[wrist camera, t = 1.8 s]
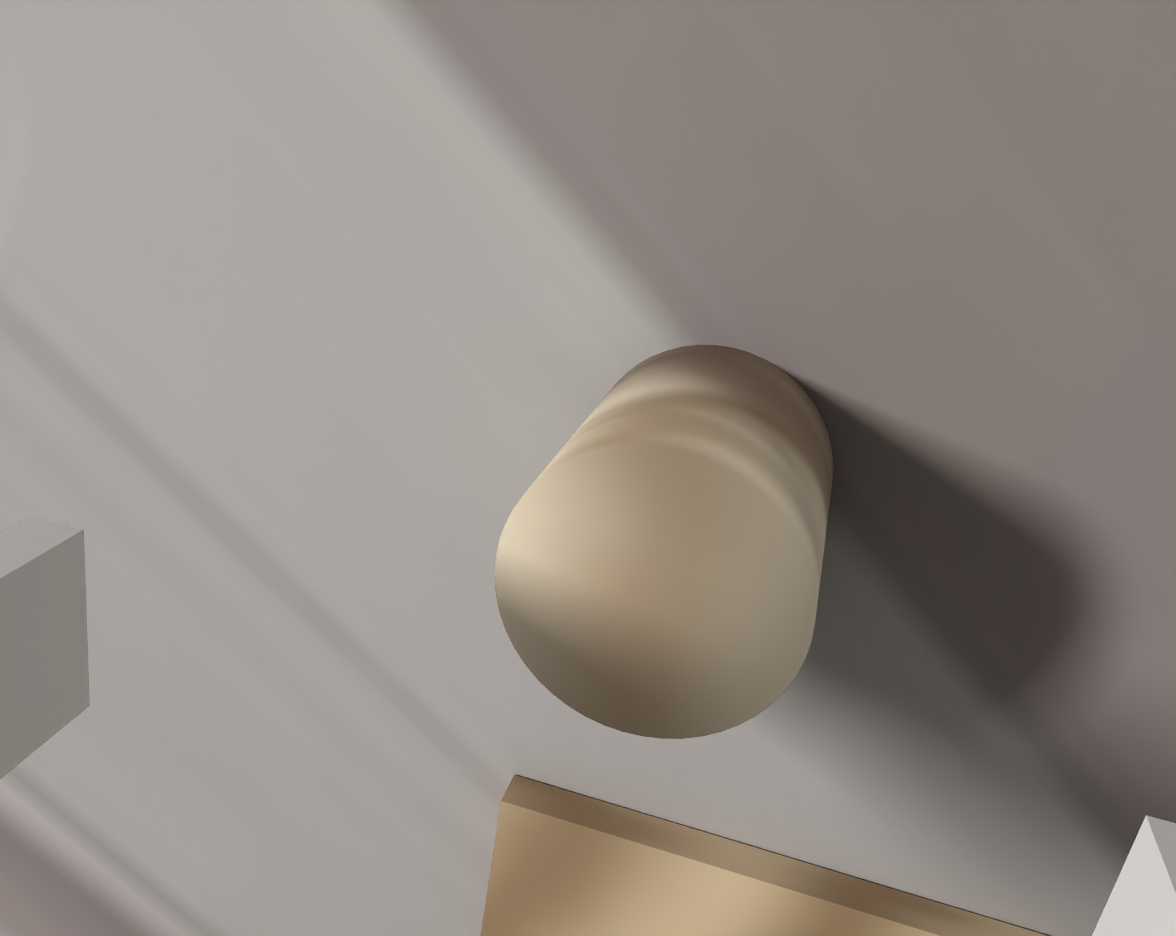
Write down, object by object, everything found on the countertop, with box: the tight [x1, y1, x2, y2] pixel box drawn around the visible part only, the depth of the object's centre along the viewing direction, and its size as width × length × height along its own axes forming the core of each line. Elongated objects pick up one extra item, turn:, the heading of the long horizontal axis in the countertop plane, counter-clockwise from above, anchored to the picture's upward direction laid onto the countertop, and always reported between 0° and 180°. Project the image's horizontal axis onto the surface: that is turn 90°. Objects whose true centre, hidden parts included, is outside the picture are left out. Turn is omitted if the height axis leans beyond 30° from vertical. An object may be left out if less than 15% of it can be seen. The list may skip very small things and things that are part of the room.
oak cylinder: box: [495, 345, 833, 739], centre depth 19 cm, size 5×5×6 cm
